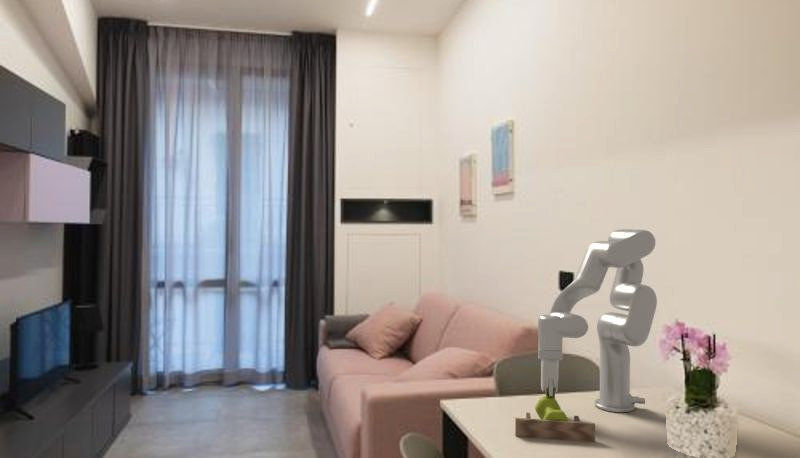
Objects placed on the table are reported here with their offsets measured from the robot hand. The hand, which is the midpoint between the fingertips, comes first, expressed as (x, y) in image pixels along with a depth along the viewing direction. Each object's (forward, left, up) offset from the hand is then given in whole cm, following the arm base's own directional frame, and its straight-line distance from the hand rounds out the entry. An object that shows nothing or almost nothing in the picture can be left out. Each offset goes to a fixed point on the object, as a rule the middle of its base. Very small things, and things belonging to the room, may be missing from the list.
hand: (550, 410), depth 184 cm
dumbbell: (0, +11, -2) cm, 11 cm away
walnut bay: (0, +14, -2) cm, 14 cm away
